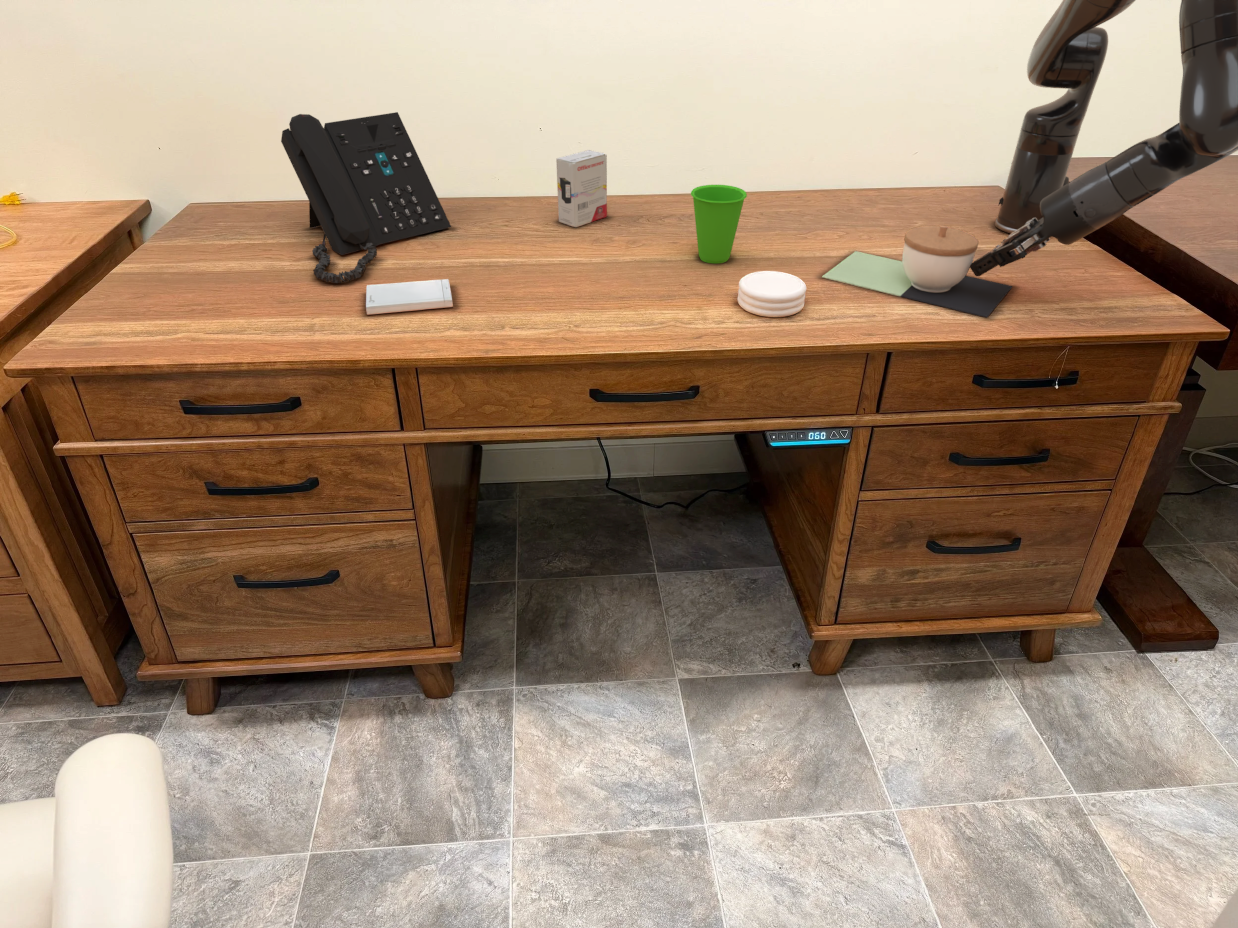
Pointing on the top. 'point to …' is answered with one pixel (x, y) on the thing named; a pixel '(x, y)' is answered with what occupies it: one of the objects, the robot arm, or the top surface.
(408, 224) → the office phone
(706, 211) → the cup
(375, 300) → the hard drive
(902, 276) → the runner mat
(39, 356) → the top surface
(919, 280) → the trinket box
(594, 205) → the ink box
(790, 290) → the white round stack
